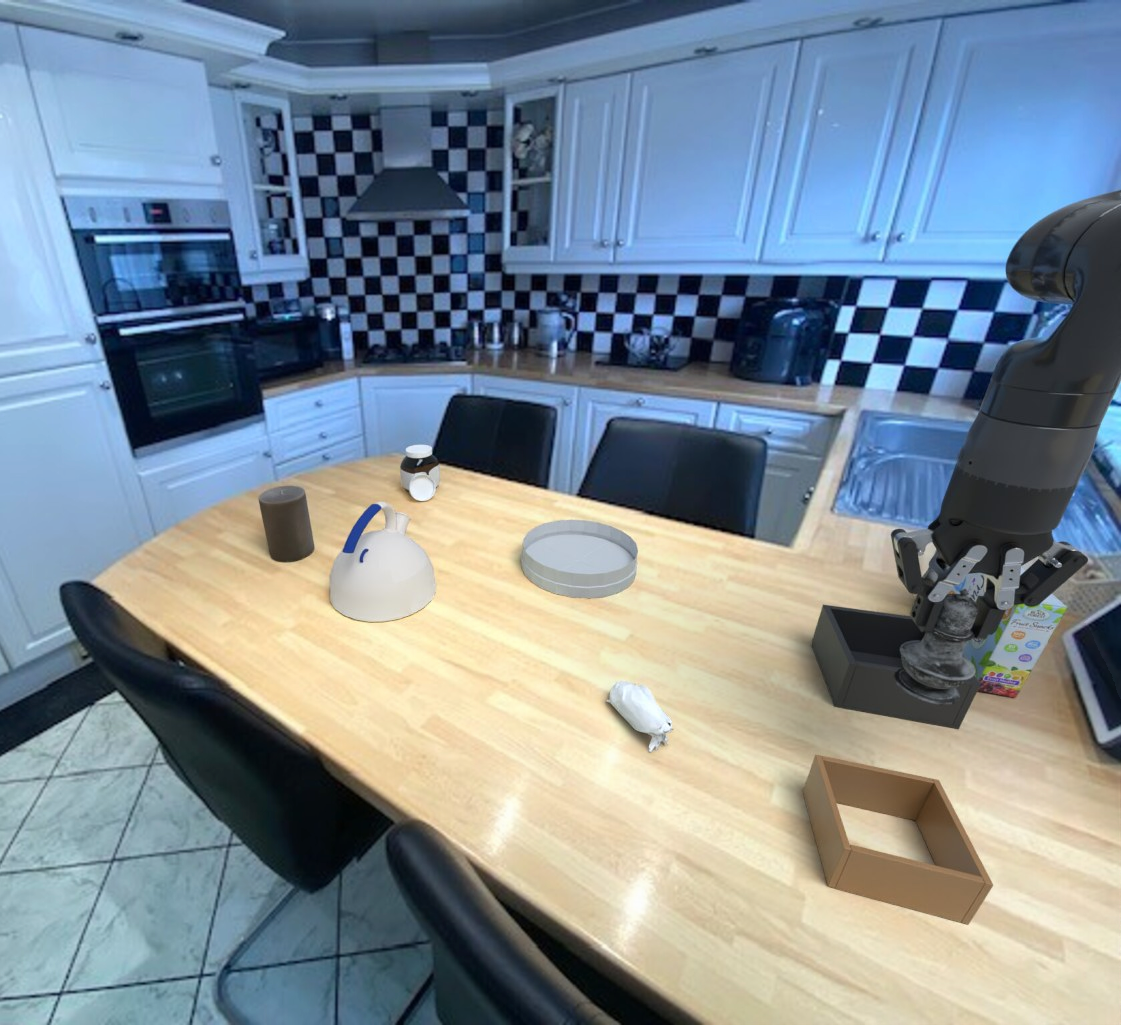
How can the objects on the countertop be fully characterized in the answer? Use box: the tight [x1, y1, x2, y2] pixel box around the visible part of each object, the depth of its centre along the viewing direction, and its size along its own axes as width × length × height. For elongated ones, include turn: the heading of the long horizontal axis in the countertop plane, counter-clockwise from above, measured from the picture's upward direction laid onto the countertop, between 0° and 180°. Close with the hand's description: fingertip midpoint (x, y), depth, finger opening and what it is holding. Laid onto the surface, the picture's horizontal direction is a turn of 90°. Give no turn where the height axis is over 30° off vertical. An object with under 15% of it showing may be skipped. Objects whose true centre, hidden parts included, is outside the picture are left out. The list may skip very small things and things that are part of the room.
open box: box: [810, 604, 980, 730], centre depth 77 cm, size 14×14×8 cm
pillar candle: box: [257, 484, 315, 563], centre depth 119 cm, size 10×10×15 cm
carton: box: [802, 754, 994, 925], centre depth 57 cm, size 11×11×6 cm
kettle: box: [329, 501, 438, 623], centre depth 102 cm, size 20×21×18 cm
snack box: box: [933, 548, 1068, 698], centre depth 82 cm, size 21×6×15 cm, turn 161°
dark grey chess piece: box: [894, 589, 979, 705], centre depth 55 cm, size 6×6×12 cm
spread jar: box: [399, 444, 441, 502], centre depth 145 cm, size 12×11×12 cm
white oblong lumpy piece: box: [605, 680, 674, 753], centre depth 73 cm, size 5×7×10 cm
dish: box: [520, 519, 639, 599], centre depth 110 cm, size 22×22×5 cm
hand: (948, 630), depth 55 cm, fingers closed on dark grey chess piece, 3 cm apart
